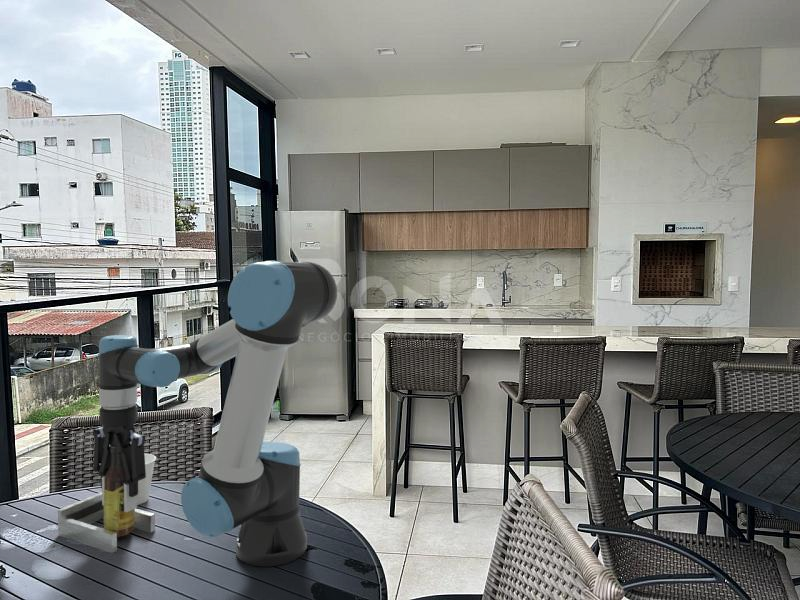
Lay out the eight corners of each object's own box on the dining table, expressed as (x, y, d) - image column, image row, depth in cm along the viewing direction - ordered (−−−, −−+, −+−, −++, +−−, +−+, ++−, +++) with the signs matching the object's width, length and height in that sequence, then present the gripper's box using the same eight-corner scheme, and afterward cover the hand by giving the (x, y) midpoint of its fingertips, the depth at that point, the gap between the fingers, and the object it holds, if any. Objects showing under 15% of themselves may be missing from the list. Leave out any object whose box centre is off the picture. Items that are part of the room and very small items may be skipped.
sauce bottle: (123, 540, 124) (122, 451, 123) (97, 537, 125) (96, 449, 124) (141, 526, 131) (141, 442, 129) (116, 523, 132) (116, 439, 130)
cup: (150, 490, 154) (149, 450, 153) (161, 503, 146) (161, 461, 145) (109, 499, 147) (109, 458, 147) (119, 513, 140) (119, 469, 139)
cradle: (155, 530, 131) (154, 505, 131) (112, 553, 121) (111, 526, 121) (103, 515, 138) (102, 491, 138) (58, 535, 128) (57, 509, 128)
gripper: (164, 407, 125) (164, 508, 127) (103, 396, 133) (104, 492, 135) (135, 415, 119) (136, 522, 120) (73, 403, 126) (74, 504, 128)
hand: (119, 506), depth 128 cm, fingers closed on sauce bottle, 6 cm apart
